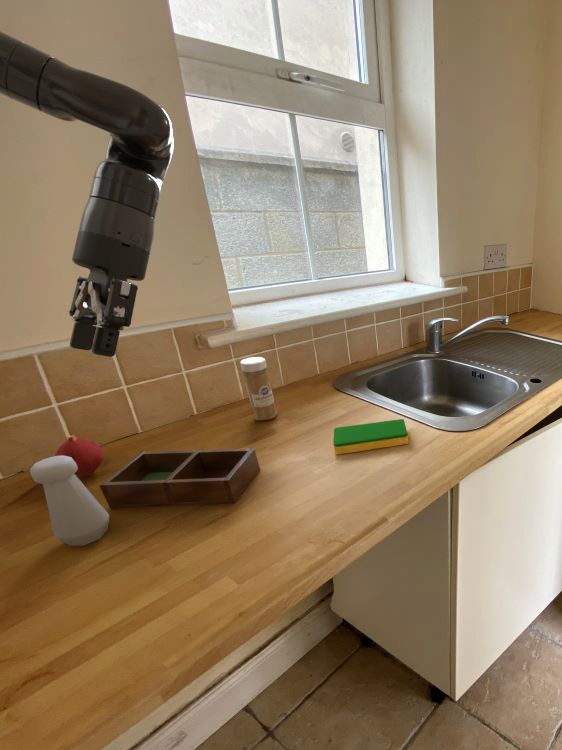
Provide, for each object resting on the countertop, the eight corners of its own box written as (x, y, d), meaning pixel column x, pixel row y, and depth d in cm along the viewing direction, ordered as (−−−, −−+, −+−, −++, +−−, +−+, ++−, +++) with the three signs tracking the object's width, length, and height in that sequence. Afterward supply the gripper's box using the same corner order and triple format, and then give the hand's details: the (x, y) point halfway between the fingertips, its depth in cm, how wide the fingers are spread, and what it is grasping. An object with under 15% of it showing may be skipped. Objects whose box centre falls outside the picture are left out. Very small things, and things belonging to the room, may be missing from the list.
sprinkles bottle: (266, 423, 97) (251, 365, 91) (249, 419, 98) (234, 361, 92) (282, 414, 101) (269, 357, 95) (266, 410, 102) (253, 354, 96)
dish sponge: (408, 444, 91) (407, 434, 90) (335, 455, 86) (333, 444, 85) (404, 428, 97) (403, 418, 96) (335, 437, 92) (334, 427, 91)
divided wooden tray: (109, 509, 70) (98, 485, 68) (149, 473, 79) (140, 451, 77) (235, 503, 73) (228, 480, 71) (260, 469, 81) (254, 448, 79)
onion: (57, 480, 76) (36, 440, 73) (96, 463, 81) (78, 424, 78) (79, 488, 75) (59, 447, 71) (118, 470, 80) (101, 431, 76)
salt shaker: (69, 529, 66) (30, 454, 60) (119, 518, 68) (86, 445, 63) (53, 556, 61) (9, 477, 56) (107, 543, 64) (70, 467, 58)
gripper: (62, 230, 63) (36, 341, 63) (100, 226, 56) (72, 351, 56) (129, 251, 70) (106, 352, 69) (170, 250, 63) (145, 363, 62)
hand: (91, 352), depth 63 cm, fingers open, 8 cm apart
